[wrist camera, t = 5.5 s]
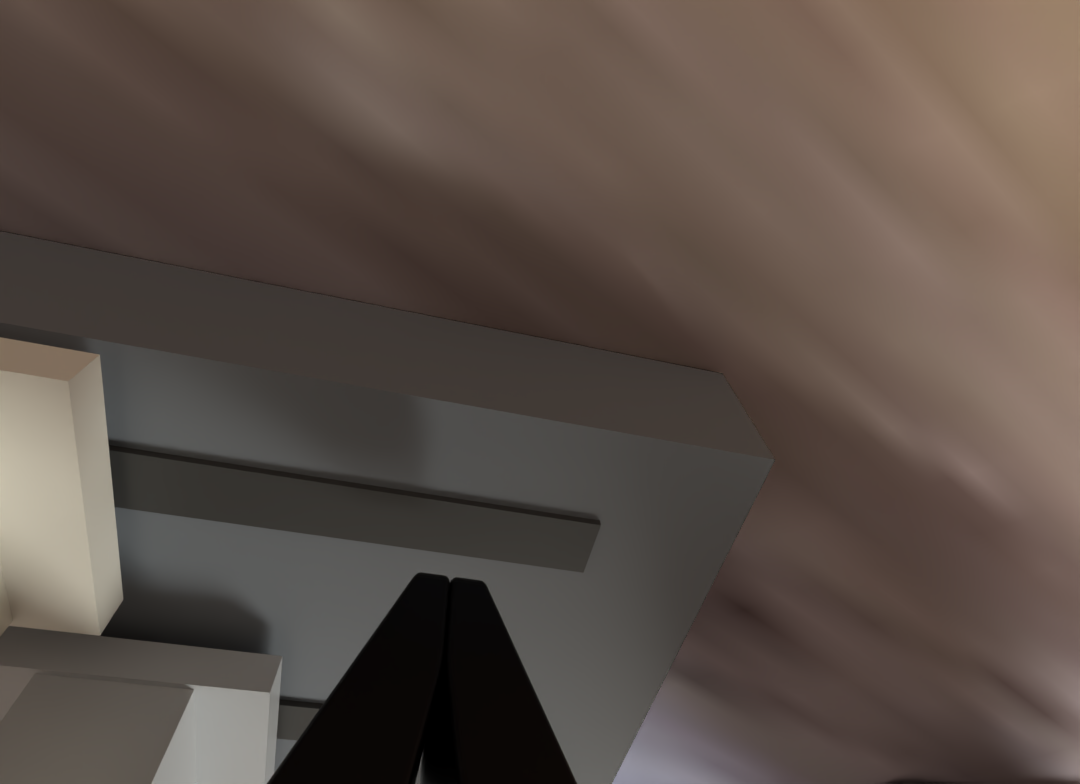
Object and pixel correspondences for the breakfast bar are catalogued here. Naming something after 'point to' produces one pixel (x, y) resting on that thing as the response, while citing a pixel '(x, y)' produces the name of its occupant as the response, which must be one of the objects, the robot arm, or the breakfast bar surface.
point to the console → (394, 480)
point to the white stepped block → (134, 711)
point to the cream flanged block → (55, 492)
